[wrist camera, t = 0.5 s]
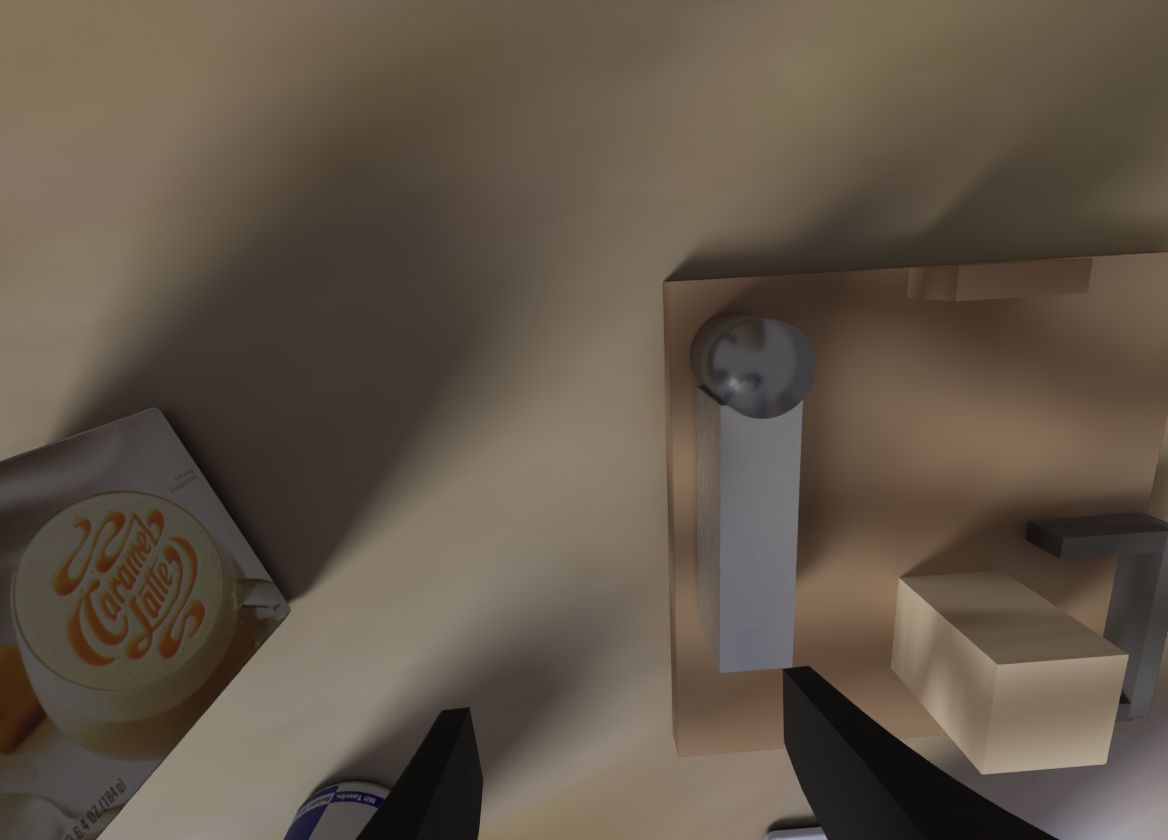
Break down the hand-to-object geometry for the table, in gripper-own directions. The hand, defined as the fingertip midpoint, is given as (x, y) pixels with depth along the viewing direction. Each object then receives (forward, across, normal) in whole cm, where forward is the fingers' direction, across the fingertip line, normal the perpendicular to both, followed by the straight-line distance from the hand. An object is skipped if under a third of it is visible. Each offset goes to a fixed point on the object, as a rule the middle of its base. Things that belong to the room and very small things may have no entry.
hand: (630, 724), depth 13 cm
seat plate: (+9, -12, +1) cm, 15 cm away
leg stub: (+8, -13, +5) cm, 16 cm away
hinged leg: (+8, -5, -3) cm, 10 cm away
